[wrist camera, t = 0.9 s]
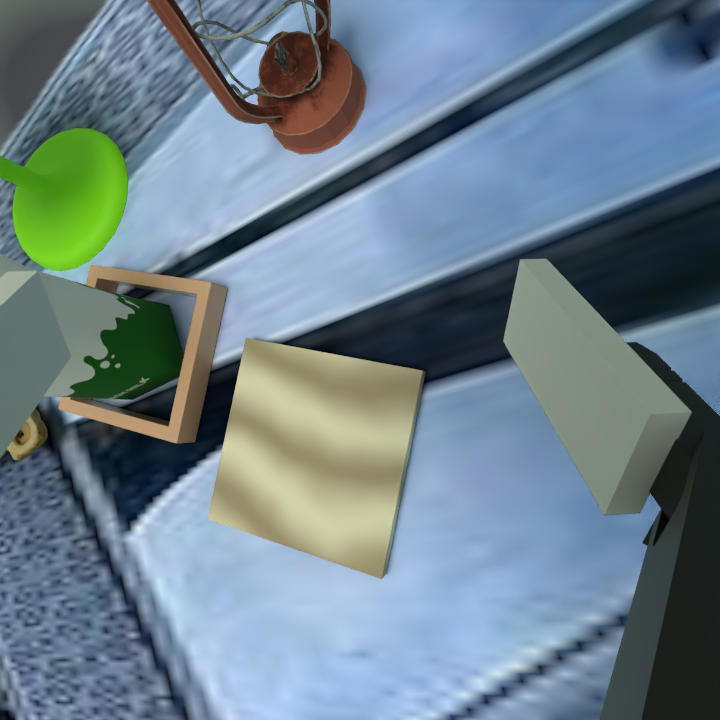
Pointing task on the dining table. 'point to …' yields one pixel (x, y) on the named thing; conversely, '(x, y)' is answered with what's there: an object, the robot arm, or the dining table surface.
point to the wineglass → (68, 197)
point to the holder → (194, 360)
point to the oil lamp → (28, 437)
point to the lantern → (282, 78)
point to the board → (318, 452)
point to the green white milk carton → (109, 340)
